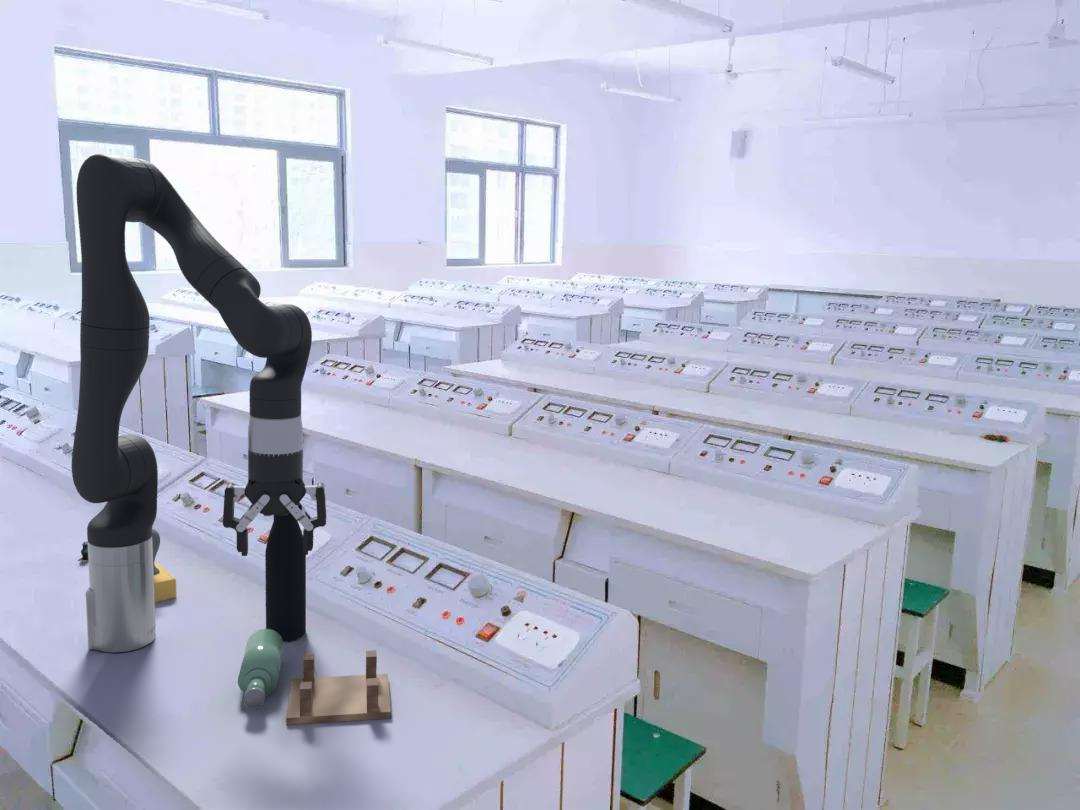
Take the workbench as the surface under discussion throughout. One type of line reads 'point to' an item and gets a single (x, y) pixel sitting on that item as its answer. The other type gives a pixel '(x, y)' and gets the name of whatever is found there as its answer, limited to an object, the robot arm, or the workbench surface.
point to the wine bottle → (285, 579)
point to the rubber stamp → (161, 575)
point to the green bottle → (260, 666)
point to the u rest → (338, 695)
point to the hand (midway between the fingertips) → (275, 553)
